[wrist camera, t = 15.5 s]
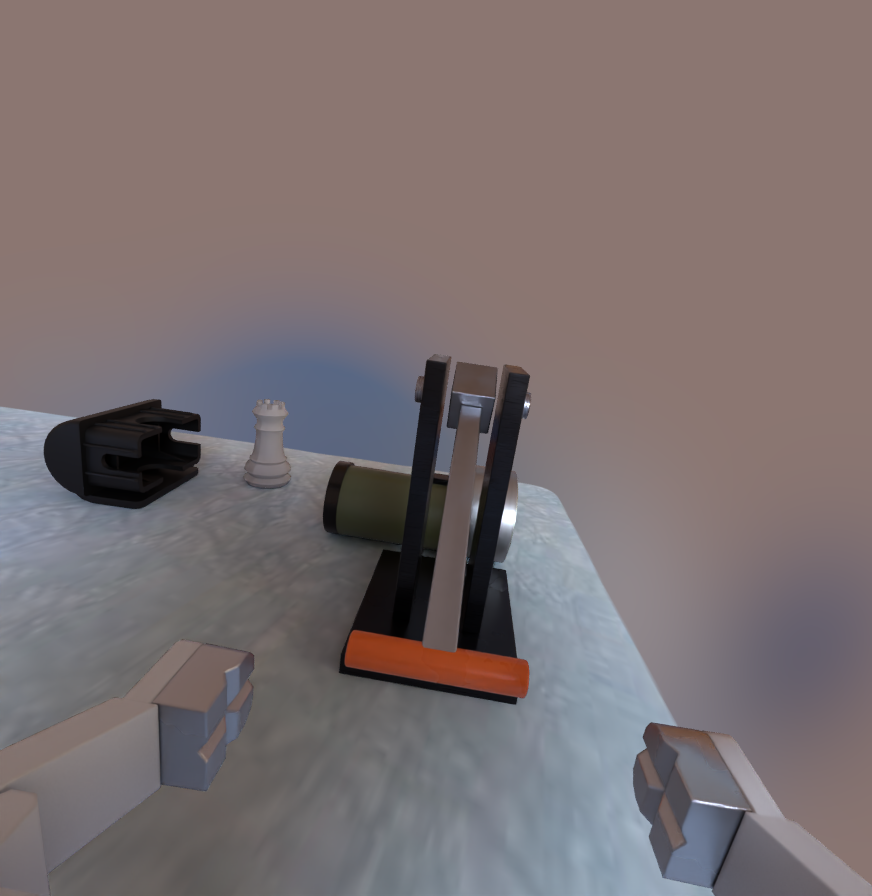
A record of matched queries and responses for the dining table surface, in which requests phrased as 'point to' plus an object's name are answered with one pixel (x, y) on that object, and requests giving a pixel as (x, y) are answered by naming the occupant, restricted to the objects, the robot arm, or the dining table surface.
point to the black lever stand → (485, 588)
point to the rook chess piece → (268, 447)
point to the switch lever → (449, 570)
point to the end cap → (123, 454)
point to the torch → (400, 506)
